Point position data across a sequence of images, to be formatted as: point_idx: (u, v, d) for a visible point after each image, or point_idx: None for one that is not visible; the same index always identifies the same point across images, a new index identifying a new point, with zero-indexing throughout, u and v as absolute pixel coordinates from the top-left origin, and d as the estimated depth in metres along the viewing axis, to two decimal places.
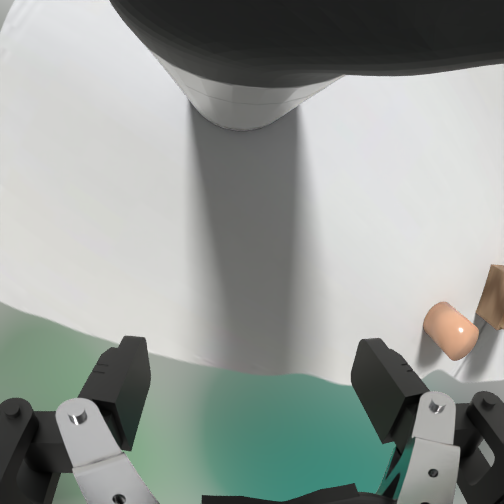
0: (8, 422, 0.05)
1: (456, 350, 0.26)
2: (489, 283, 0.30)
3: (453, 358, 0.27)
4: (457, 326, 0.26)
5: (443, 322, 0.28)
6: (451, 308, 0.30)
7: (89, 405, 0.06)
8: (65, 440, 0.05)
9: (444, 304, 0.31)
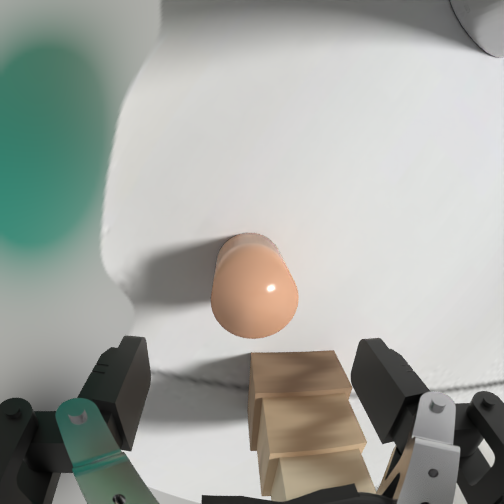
0: (8, 422, 0.05)
1: (240, 285, 0.16)
2: (308, 356, 0.23)
3: (218, 286, 0.16)
4: (288, 270, 0.17)
5: (274, 251, 0.18)
6: None
7: (89, 405, 0.06)
8: (65, 440, 0.05)
9: None
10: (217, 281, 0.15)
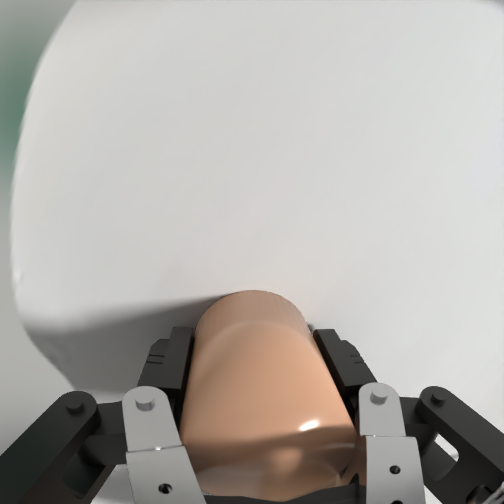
0: (71, 416, 0.05)
1: (238, 446, 0.06)
2: None
3: (189, 447, 0.06)
4: (341, 399, 0.07)
5: (306, 345, 0.08)
6: None
7: (156, 392, 0.07)
8: (139, 428, 0.06)
9: None
10: (186, 439, 0.06)
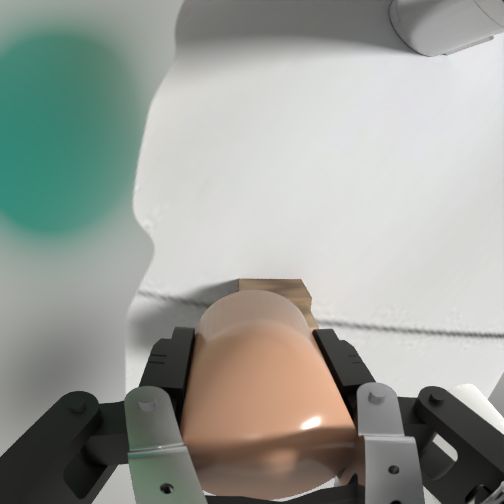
0: (73, 416, 0.05)
1: (239, 445, 0.06)
2: (281, 281, 0.33)
3: (190, 446, 0.06)
4: (341, 398, 0.07)
5: (306, 344, 0.08)
6: None
7: (158, 392, 0.07)
8: (141, 428, 0.06)
9: None
10: (186, 438, 0.06)
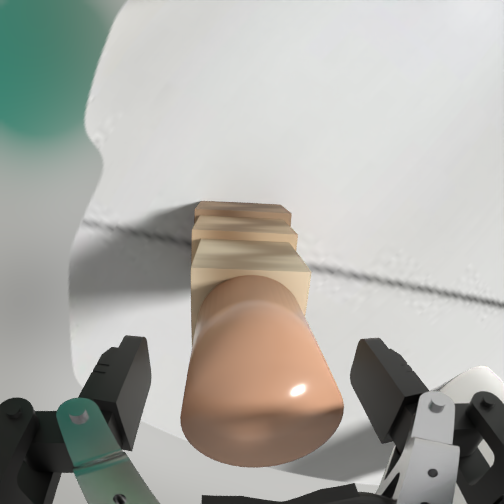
0: (9, 422, 0.05)
1: (236, 404, 0.07)
2: (254, 204, 0.26)
3: (193, 406, 0.07)
4: (327, 365, 0.08)
5: (296, 320, 0.10)
6: None
7: (90, 405, 0.06)
8: (66, 440, 0.05)
9: None
10: (190, 397, 0.07)
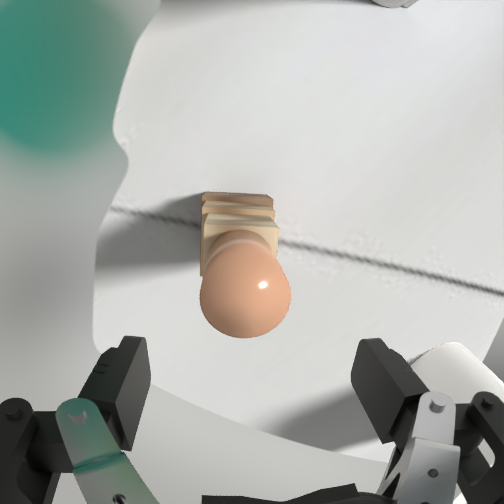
0: (8, 422, 0.05)
1: (230, 281, 0.15)
2: (246, 194, 0.34)
3: (207, 284, 0.15)
4: (280, 266, 0.16)
5: (265, 247, 0.18)
6: None
7: (89, 405, 0.06)
8: (65, 440, 0.05)
9: None
10: (206, 278, 0.15)
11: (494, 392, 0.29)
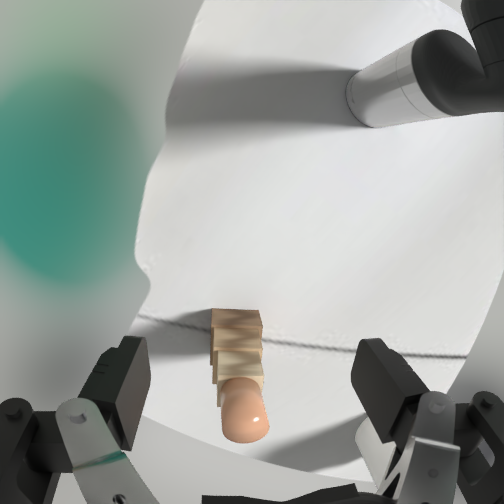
0: (8, 422, 0.05)
1: (238, 423, 0.26)
2: (243, 311, 0.45)
3: (226, 424, 0.26)
4: (263, 412, 0.27)
5: (255, 397, 0.29)
6: None
7: (89, 405, 0.06)
8: (65, 440, 0.05)
9: None
10: (225, 422, 0.26)
11: None
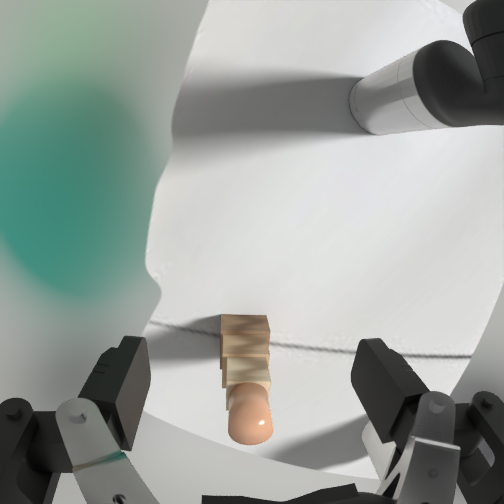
0: (8, 422, 0.05)
1: (242, 426, 0.27)
2: (251, 317, 0.46)
3: (231, 427, 0.27)
4: (266, 414, 0.28)
5: (259, 400, 0.30)
6: None
7: (89, 405, 0.06)
8: (65, 440, 0.05)
9: None
10: (230, 425, 0.27)
11: None
